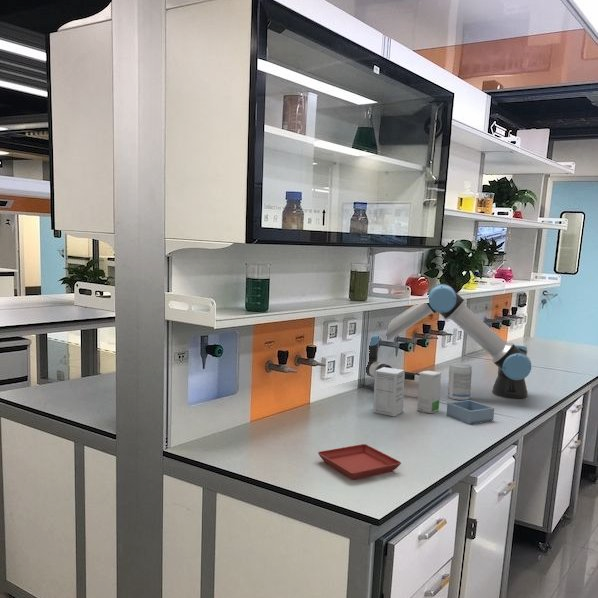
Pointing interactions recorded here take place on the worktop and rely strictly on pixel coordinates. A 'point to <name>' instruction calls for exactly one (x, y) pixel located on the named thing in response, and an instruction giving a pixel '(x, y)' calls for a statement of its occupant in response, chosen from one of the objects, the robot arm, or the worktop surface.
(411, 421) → the worktop surface
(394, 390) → the supplement box
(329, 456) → the plant saucer
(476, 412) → the crate
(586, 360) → the worktop surface
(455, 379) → the supplement tub
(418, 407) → the skincare box
